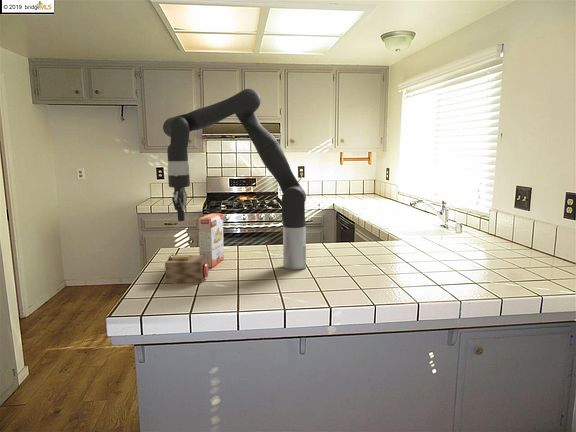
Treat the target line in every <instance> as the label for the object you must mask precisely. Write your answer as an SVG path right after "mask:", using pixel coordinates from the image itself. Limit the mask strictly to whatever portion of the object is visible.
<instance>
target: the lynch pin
mask: <svg viewBox="0 0 576 432" xmlns="http://www.w3.org/2000/svg"><path fill="white" fill-rule="evenodd" d="M209 269H210V268H208V264H203V277H205V278H208V277H209Z"/></svg>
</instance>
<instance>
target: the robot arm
mask: <svg viewBox="0 0 576 432" xmlns="http://www.w3.org/2000/svg"><path fill="white" fill-rule="evenodd" d="M261 103H262V102H261V96H260V94H259V93H258V92H257V91H256V90H254V89H252V88H246V89H243V90H241V91H240V92H238V93H236V94H234V95H232V96H231V97H229V98H226V99H224V100H221V101H218V102H215V103H212V104H209V105H207V106H204V107H201V108H197V109H195V110H192V111H190V112H188V113H182V114H179V115H175V116H172V117H169V118H167V119H166V120H165V121H164V123H163V126H162V130H163V132H164V134H165V135H166V136H168V137H170V144H169V145H168V146H167V154H166V155H167V180H168V182H167V183H168V187H169V188H173V192H172V198H171V200H172V203H173V207H174V210H175V211H176V212H177V222H184V221H185V220H186V218H185V217H186V215H185V210H186V208H187V201H188V193H187V191H186V188H188V187H190V186H191V183H190V182H191V181H190V178H191V177H190V165H189V154H188V147H189V142H190V141H189V140H190V132H193V131H198V130H202V129H206V128H208V127H211V126H214V125H216V124H217V123H219V122H221V121H223V120H225V119H227V118H229V117H231V116H233V115H235V116H236V117H237V119H238V121H239V122H240V123H241V125H242V127H243V128H244V129H245V132H246V133H247V135H248V137H249V138H250V140H251V142H252V144H253V145H254V148H255V150H256V152H257V153H258V156H259V158H260V160H261V162H262V164H263V165H264V166H265V168H266V169H267V170H268V171H269V173H270V174H271V175H272V176H273V178H274V179H275V181H276V182H277V184H278V186H279V188H280V190H281V193H282V196H281V219H282V220H281V221H282V244H283V245H282V250H283V251H282V254H283V256H282V259H283V260H282V261H283V263H282V264H283V269H287V270H301V269H302V270H303V269H306V268H307V245H306V240H307V239H306V238H307V237H306V225H307V224H306V223H307V221H306V215H305V213H306V212H305V209H306V208H305V207H306V206H305V205H306V200H307V195H306V191H305V190H304V189H303V186H301V184H300V182H299V181H298V179H297V178H296V177H295V175H294V173H293V171H292V169H291V167H290V164H289V161H288V159H287V157H286V156H285V153H284V151H283V149H282V146H281V144H280V143H279V141H278V140H277V138H276V137H275V136H274V135H273V134H272V133H271V132H269V130H267V129H266V128H265V127H263V125H262V124H261V122H260V121H259V119H258V117H257V114H256V111H257V110H258V109H259V107H260V105H261Z"/></svg>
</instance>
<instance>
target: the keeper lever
mask: <svg viewBox="0 0 576 432" xmlns="http://www.w3.org/2000/svg"><path fill="white" fill-rule="evenodd" d="M189 258H190V254H179V255H178V254H176V255H175V254H173V253H172V254H171V255H169V257H168V258H167V260H168V259H169V260H188V259H189Z"/></svg>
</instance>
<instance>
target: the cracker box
mask: <svg viewBox="0 0 576 432" xmlns="http://www.w3.org/2000/svg"><path fill="white" fill-rule="evenodd" d="M197 222H198V243H199V245H198V247H199V249H198V251H199V255H206V264H208V269H213V268H214V267H216V266H217V265H218V264H220V263H221V262H222V261H223V260H224V259H225V258H224V257H225V255H224V253H225V252H224V251H225V250H224V214H223V213H214V212H213V213H209V214H207V215H204V216H200V217H199V218H198V221H197Z"/></svg>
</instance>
